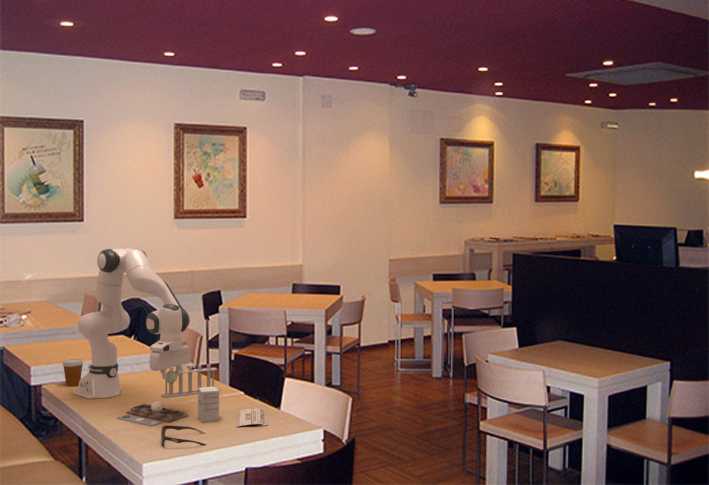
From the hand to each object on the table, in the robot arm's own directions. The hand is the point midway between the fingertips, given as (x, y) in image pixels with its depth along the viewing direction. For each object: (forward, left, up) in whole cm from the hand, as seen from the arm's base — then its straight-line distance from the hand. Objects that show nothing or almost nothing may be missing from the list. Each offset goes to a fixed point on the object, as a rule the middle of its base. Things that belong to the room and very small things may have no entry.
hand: (171, 377), depth 291 cm
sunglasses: (+25, -18, -18) cm, 36 cm away
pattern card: (-8, -9, -17) cm, 21 cm away
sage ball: (0, 0, 0) cm, 0 cm away
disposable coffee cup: (-80, +15, -17) cm, 83 cm away
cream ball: (-8, 0, -14) cm, 16 cm away
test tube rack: (-21, +33, -17) cm, 43 cm away
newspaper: (+29, +17, -18) cm, 38 cm away
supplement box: (+14, +7, -17) cm, 23 cm away
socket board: (-8, 0, -17) cm, 19 cm away
